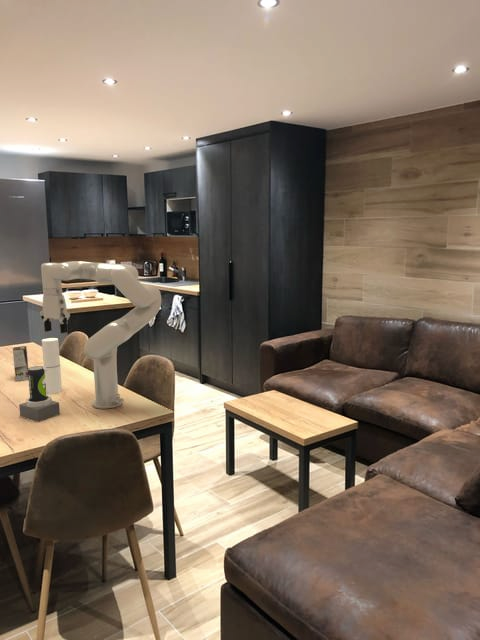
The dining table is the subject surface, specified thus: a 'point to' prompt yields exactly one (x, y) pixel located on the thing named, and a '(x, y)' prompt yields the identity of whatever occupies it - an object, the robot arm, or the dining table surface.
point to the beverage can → (37, 384)
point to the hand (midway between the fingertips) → (56, 331)
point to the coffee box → (20, 363)
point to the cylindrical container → (52, 365)
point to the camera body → (39, 409)
